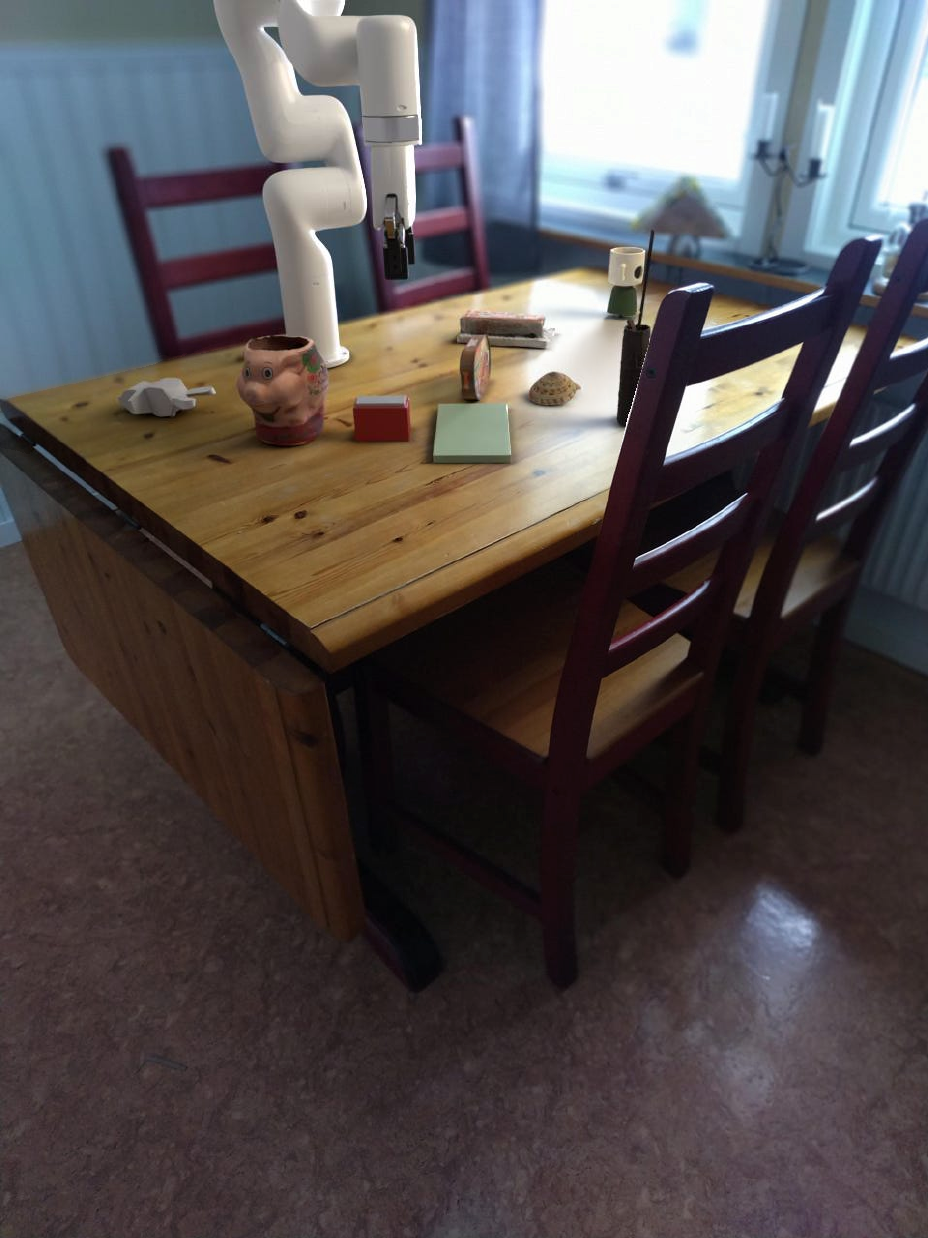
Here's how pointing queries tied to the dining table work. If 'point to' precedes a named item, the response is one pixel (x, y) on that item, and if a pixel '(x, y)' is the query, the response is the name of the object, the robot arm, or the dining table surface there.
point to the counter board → (472, 434)
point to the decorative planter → (284, 388)
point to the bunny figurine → (161, 397)
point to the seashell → (553, 389)
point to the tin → (475, 367)
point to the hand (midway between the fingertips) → (400, 271)
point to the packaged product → (506, 328)
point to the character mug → (625, 279)
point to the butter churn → (633, 353)
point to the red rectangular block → (382, 418)
